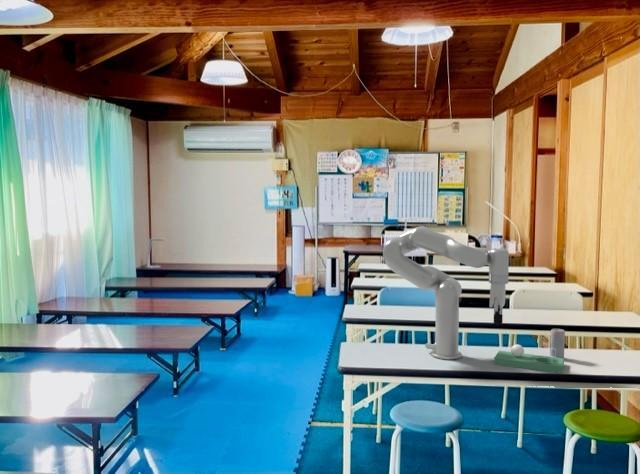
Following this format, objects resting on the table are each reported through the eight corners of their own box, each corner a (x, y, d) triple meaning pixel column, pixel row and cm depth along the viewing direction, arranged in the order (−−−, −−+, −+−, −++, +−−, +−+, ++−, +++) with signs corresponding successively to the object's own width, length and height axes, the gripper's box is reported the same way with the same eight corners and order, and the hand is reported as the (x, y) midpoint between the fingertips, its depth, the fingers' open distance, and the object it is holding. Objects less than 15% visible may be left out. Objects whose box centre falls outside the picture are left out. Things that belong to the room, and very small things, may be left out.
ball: (509, 357, 221) (510, 345, 220) (511, 354, 225) (511, 342, 225) (523, 359, 219) (523, 346, 218) (524, 355, 223) (524, 343, 223)
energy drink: (560, 356, 231) (561, 328, 230) (566, 360, 226) (567, 331, 225) (547, 356, 231) (548, 328, 230) (553, 360, 225) (554, 331, 225)
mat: (494, 364, 220) (494, 357, 220) (498, 356, 231) (499, 350, 231) (561, 373, 209) (562, 366, 209) (563, 364, 220) (563, 358, 220)
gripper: (492, 276, 231) (491, 319, 232) (485, 281, 217) (485, 327, 219) (510, 277, 227) (510, 321, 228) (505, 282, 214) (504, 328, 215)
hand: (498, 323), depth 224 cm, fingers closed
